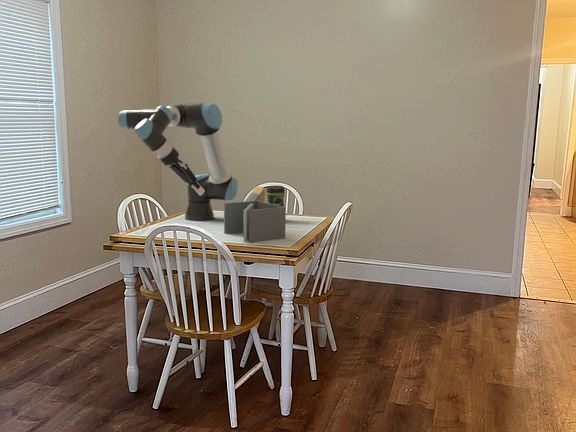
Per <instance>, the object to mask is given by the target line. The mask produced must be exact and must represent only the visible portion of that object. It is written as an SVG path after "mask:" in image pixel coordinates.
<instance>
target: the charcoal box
mask: <svg viewBox="0 0 576 432" xmlns="http://www.w3.org/2000/svg"><path fill="white" fill-rule="evenodd" d="M250 204H254V210H249V240H248V243H249V244H252V243H260V242H269V241H277V240H285V239H286V220H287V219H286V217H287V216H286V215H287V214H286V213H287V212H286V211H287V210H286V209H287V207H286V206H284V207H282V206H278V205H274V204H270V203H267V202H266V201H265V202H261V201H247V202H244V201H237V202H223V234H233V233H235V232H236V233H244V210H245V209H246V208H247V207H248V206H249V205H250Z"/></svg>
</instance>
